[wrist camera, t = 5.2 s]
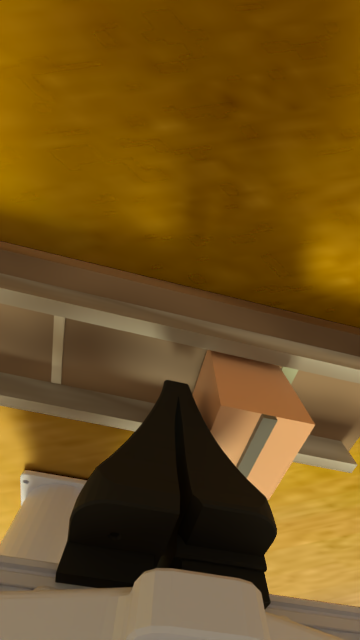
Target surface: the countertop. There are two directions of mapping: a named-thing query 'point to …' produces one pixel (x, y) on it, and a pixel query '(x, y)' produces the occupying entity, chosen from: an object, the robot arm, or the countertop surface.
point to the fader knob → (252, 416)
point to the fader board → (159, 347)
